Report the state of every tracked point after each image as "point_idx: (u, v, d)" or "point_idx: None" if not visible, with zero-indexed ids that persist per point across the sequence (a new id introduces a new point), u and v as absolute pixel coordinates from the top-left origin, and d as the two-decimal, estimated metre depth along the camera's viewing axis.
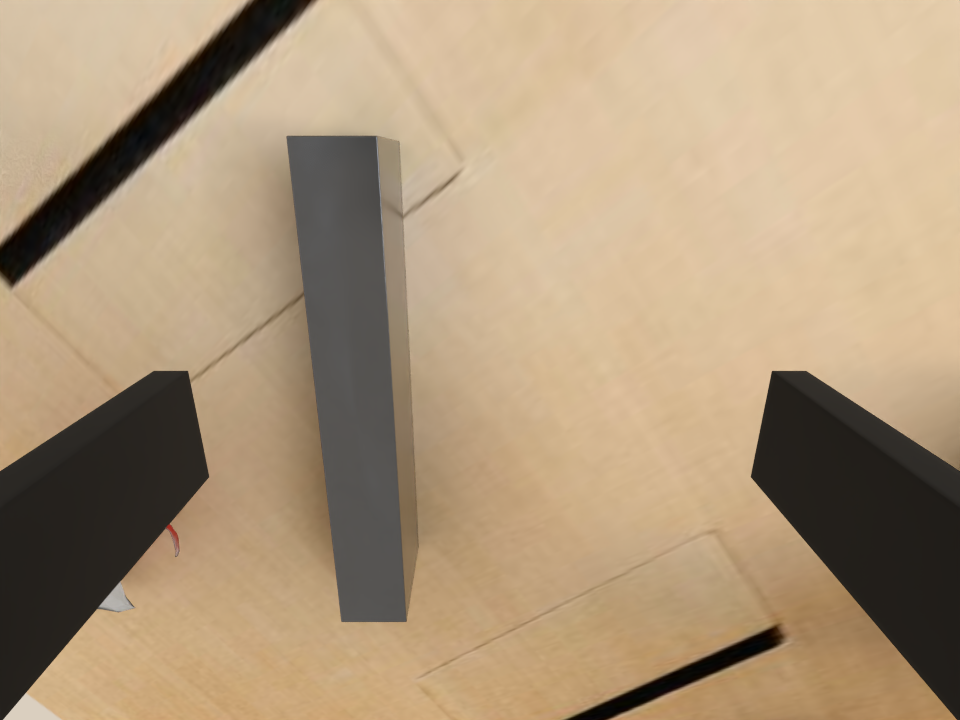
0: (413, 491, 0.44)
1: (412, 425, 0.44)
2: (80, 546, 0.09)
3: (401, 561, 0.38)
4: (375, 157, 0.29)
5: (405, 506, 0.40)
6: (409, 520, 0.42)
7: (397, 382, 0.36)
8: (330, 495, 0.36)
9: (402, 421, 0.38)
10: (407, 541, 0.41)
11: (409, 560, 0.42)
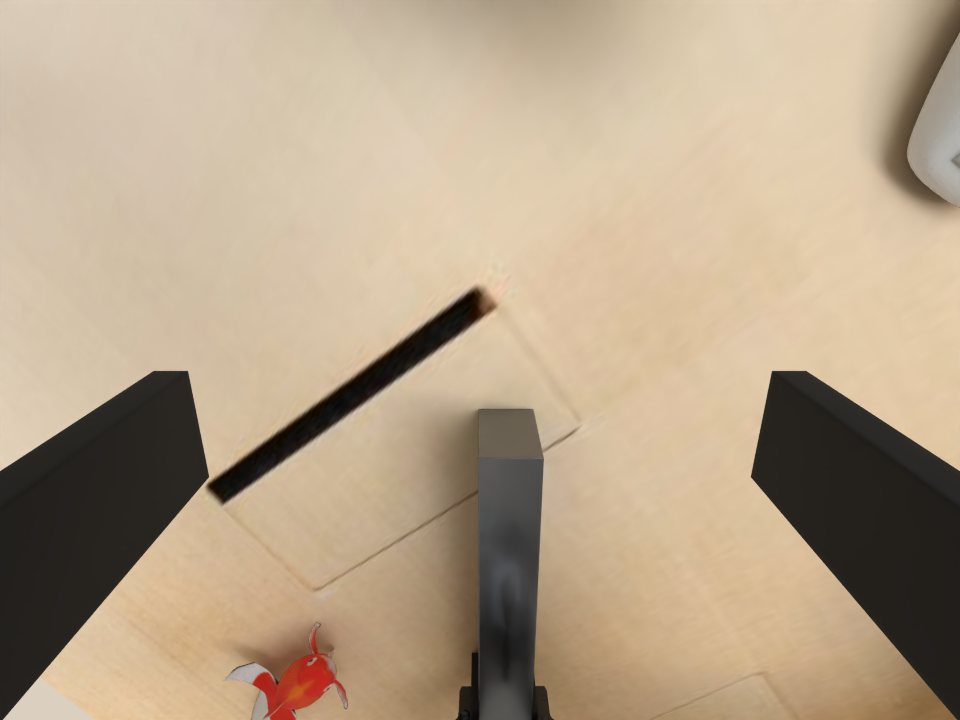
0: None
1: None
2: (79, 547, 0.09)
3: None
4: (541, 470, 0.41)
5: None
6: None
7: None
8: (481, 679, 0.48)
9: None
10: None
11: None
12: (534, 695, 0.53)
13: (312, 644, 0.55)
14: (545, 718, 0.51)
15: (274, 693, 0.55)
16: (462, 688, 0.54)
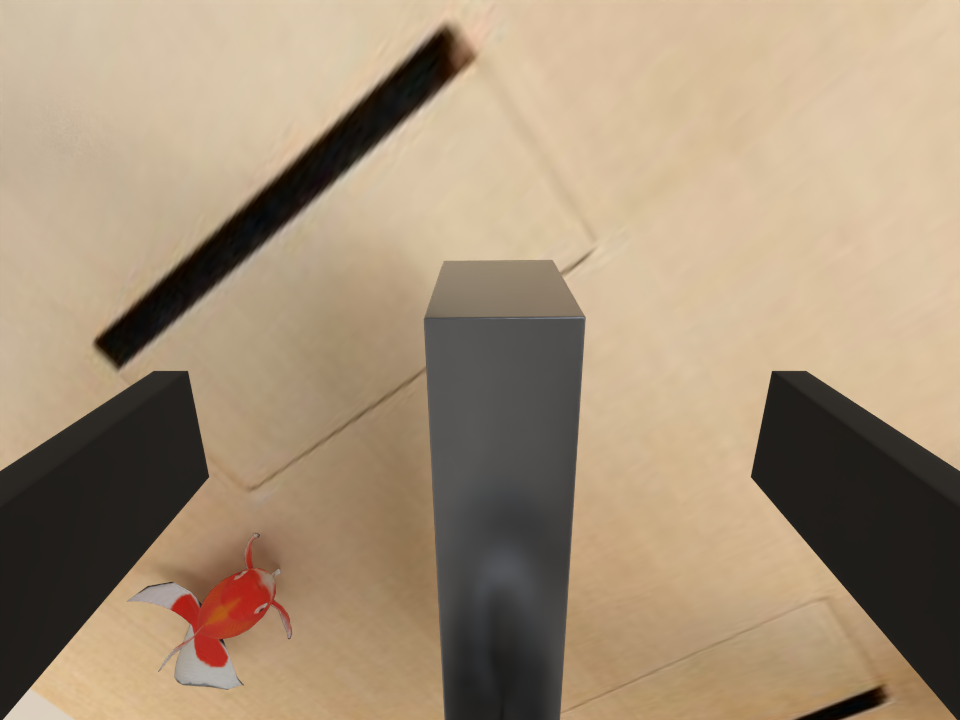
0: None
1: None
2: (79, 547, 0.09)
3: None
4: (578, 350, 0.17)
5: None
6: None
7: None
8: None
9: None
10: None
11: None
12: None
13: (248, 559, 0.42)
14: None
15: None
16: None
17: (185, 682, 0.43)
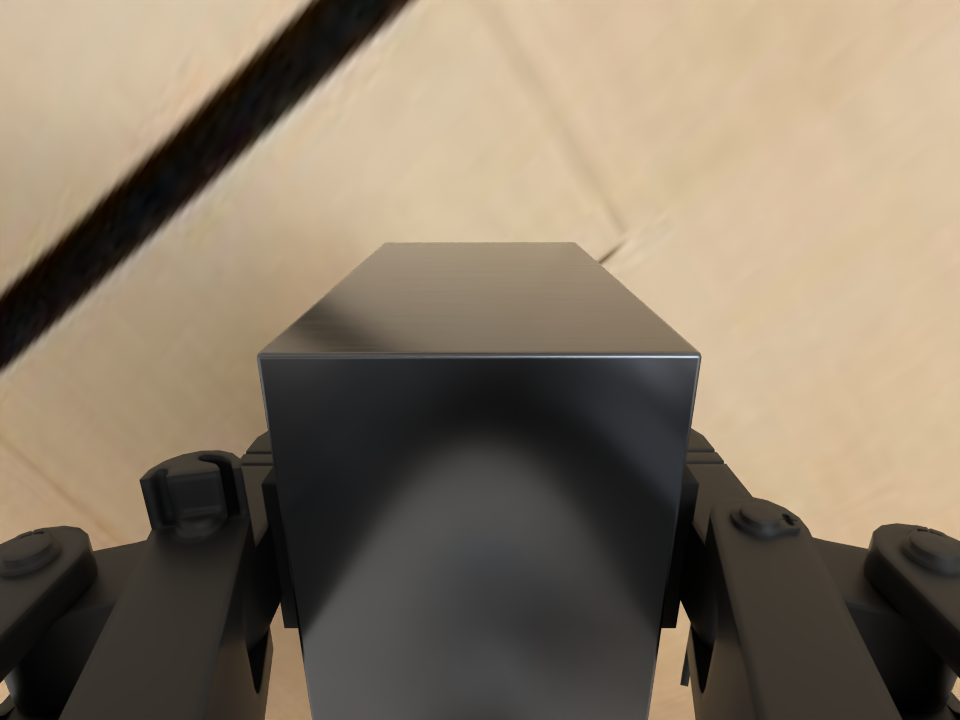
0: None
1: None
2: None
3: None
4: (676, 442, 0.06)
5: None
6: None
7: None
8: None
9: None
10: None
11: None
12: None
13: None
14: None
15: None
16: None
17: None
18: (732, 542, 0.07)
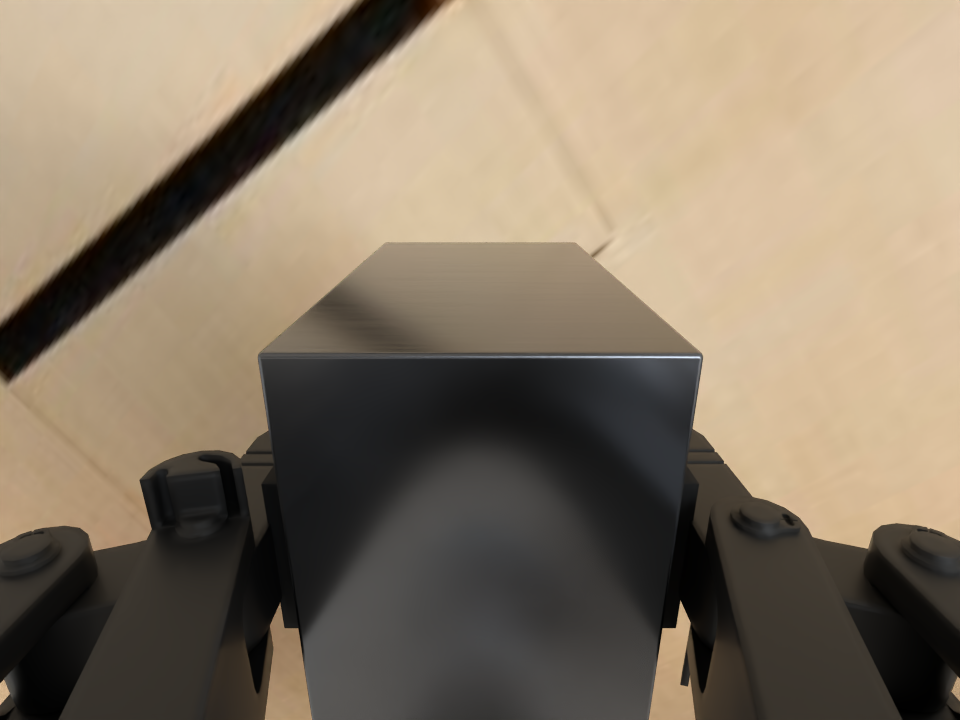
0: None
1: None
2: None
3: None
4: (678, 442, 0.06)
5: None
6: None
7: None
8: None
9: None
10: None
11: None
12: None
13: None
14: None
15: None
16: None
17: None
18: (732, 542, 0.07)
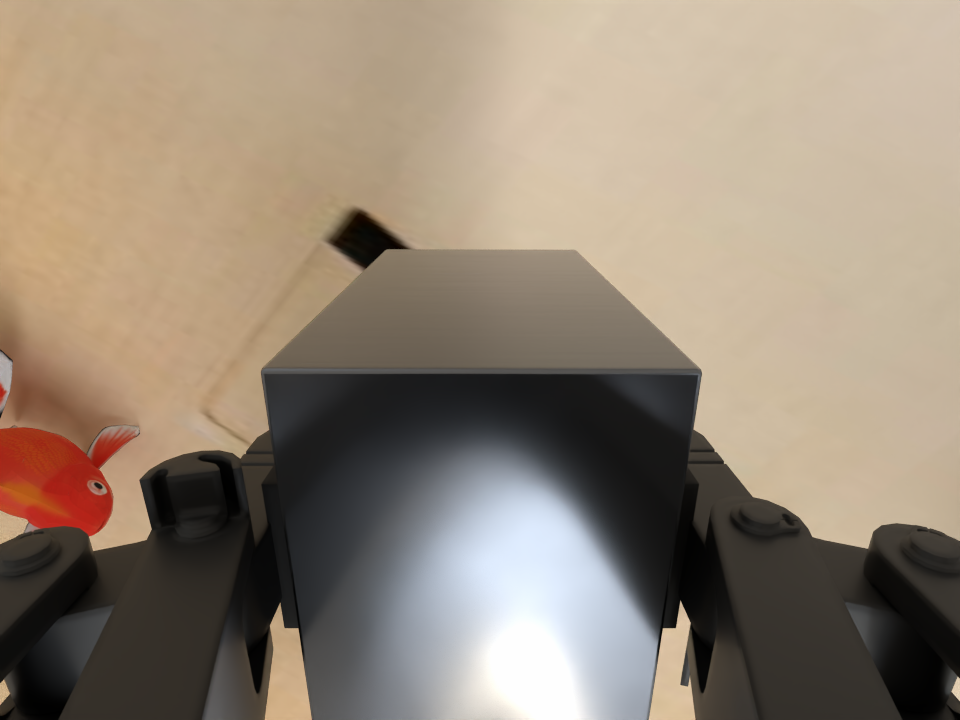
0: None
1: None
2: None
3: None
4: (677, 456, 0.06)
5: None
6: None
7: None
8: None
9: None
10: None
11: None
12: None
13: (102, 445, 0.30)
14: None
15: None
16: None
17: None
18: (733, 543, 0.07)
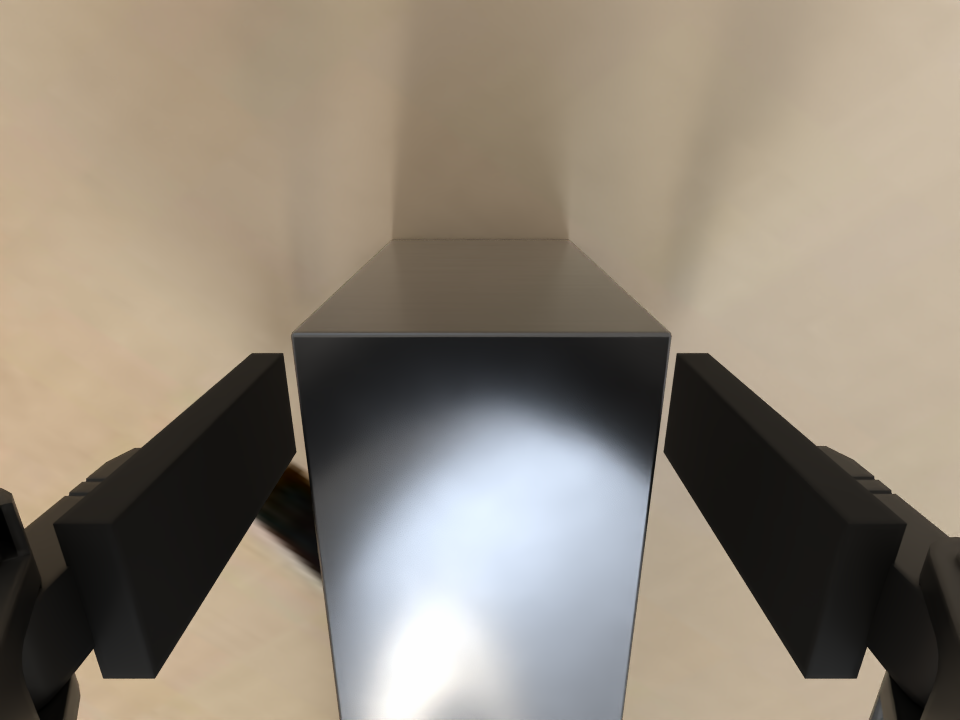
0: None
1: None
2: (217, 504, 0.10)
3: None
4: (651, 410, 0.07)
5: None
6: None
7: None
8: None
9: None
10: None
11: None
12: None
13: None
14: None
15: None
16: None
17: None
18: None
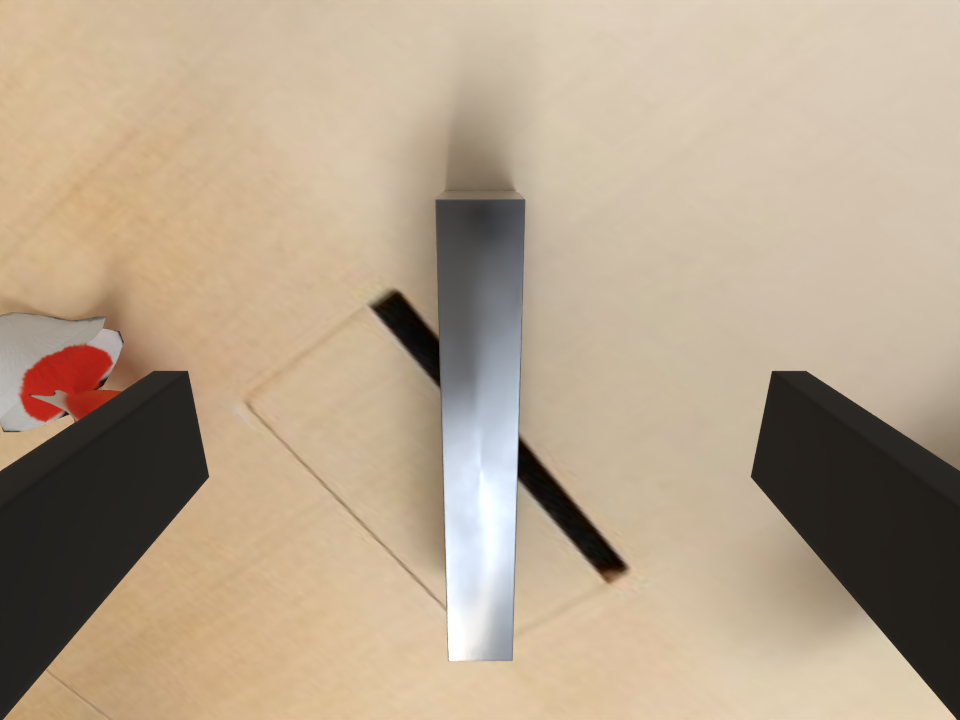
0: None
1: None
2: (79, 547, 0.09)
3: (512, 603, 0.39)
4: (521, 219, 0.30)
5: None
6: None
7: None
8: (448, 540, 0.37)
9: None
10: None
11: None
12: None
13: None
14: None
15: (78, 376, 0.38)
16: None
17: None
18: None
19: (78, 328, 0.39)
